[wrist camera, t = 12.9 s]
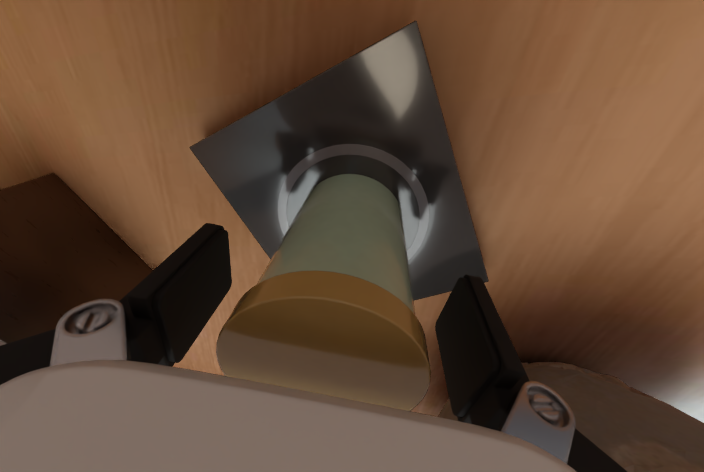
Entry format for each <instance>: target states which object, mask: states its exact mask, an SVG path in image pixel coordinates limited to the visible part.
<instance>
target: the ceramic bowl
mask: <svg viewBox="0 0 704 472" xmlns="http://www.w3.org/2000/svg"><path fill="white" fill-rule="evenodd" d="M522 365H523V367H524V370H525V372H526V374H527V376H528V378H529V380H530V381H538V382H540V383H543V384H545V385H547V386H549V387H550V388H552V389H553V390H555V391H556V392H557V393H558V394H559V395H561V396H562V398H563V399H564V400H565V401H566V402H567V403H568V405H569V406H570V408H571V410H572V411H573V414H574V417H575V420H576V427H575V428H576V429H577V430H578V431H579V432H580V433H582V434H583V435H584V436H585V437H586V438H588V439H589V440H590V441H591V442H592V443H594V444H595V445H596V446H597V447H598V448H600V449H601V450H602V451H603V452H605V453H606V454H607V455H608V456H609V457H611V458H612V459H613V460H614V461H615V462H617V463H618V464H619V465H620V466H621V467H623V468H624V469H625V470H626V471H627V472H704V423H702V422H701V421H699V420H697V419H695V418H693V417H691V416H689V415H687V414H686V413H684V412H682V411H680V410H678V409H676V408H674V407H672V406H671V405H669V404H667V403H665V402H663V401H660V400H658V399H656V398H654V397H652V396H649V395H647V394H645V393H642V392H640V391H638V390H636V389H634V388H632V387H628V386H627V385H626V384H625V383H624V382H622V381H621V380H619V379H618V378H616V377H613V376H609V375H605V374H599V373H596V372H593V371H590V370H587V369H584V368H581V367H576V366H575V365H573V364H564V363H562V362H534V363H531V364H528V363H527V362H526V363H522ZM438 417H440V418H445V419H450V420H454V421H458V419H457V416H455V415H454V414H453V413H452V409H451V404H450V399H448V400H447V402H446V404H445V405H444V407H443V409H442V410H441V412H440V414H439V416H438Z"/></svg>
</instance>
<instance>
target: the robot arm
mask: <svg viewBox="0 0 704 472" xmlns="http://www.w3.org/2000/svg"><path fill="white" fill-rule="evenodd" d="M231 283H232V279H231V266H230V253H229V240H228V232H227V231H226V230H224V228H223V226H220V225H215V224H210V223H206V224H205V225H203V226H202V227H201V228H200V229H199V230H198V231H197V232H196V233H195V234H193V235H192V236H191V237H190V238H189V239H188V240H187V241H186V242H185V243H183V244H182V245H181V246H180V247H179V248H178V249H177V250H176V251H175V252H173V253H172V254H171V255H170V256H169V257H168V258H167V259H166V260H165V261H163V262H162V263H161V264H160V265H159V266H158V267H157V268H156V269H155V270H153V271H152V272H151V273H150V274H149V275H148V276H147V277H146V278H144V279H143V280H142V281H141V282H140V283H139V284H138V285H137V286H136V287H134V288H133V289H132V290H131V291H130V292H129V293H128V294H127V295H126V296H124V297H123V298H122V299H121V300H120V301H117V300H113V299H97V300H92V301H89V302H86V303H83V304H81V305H78V306H76V307H74V308H73V309H71V310H70V311H68V312H67V313H65V314H64V315H63V316H62V318H61V319H60V320H59V321H58V324H57V326H56V329H53V330H50V331H47V332H43V333H40V334H37V335H34V336H30V337H27V338H24V339H21V340H17V341H14V342H11V343H8V344H5V345H1V346H0V472H627V471H626V470H625V469H624V468H623V467H621V466H620V465H619V464H618V463H617V462H615V461H614V460H613V459H612V458H611V457H609V456H608V455H607V454H606V453H605V452H603V451H602V450H601V449H600V448H598V447H597V446H596V445H595V444H594V443H592V442H591V441H590V440H589V439H588V438H586V437H585V436H584V435H583V434H582V433H580V432H579V431H578V430H577V429H576V428H575V427H576V420H575V417H574V414H573V411H572V410H571V408H570V406H569V405H568V403H567V402H566V401H565V400H564V399H563V398H562V396H561V395H559V394H558V393H557V392H556V391H555V390H553V389H552V388H550V387H549V386H547V385H545V384H543V383H540V382H538V381H530V380H529V378H528V376H527V374H526V372H525V370H524V367H523V365H522V363H521V361H520V359H519V357H518V355H517V353H516V350H515V348H514V346H513V344H512V342H511V340H510V338H509V335H508V333H507V331H506V329H505V327H504V325H503V323H502V321H501V318H500V316H499V314H498V312H497V310H496V308H495V306H494V303H493V301H492V299H491V297H490V295H489V293H488V291H487V289H486V286H485V284H484V282H483V280H482V279H481V278H480V277H476V276H471V275H464V276H463V278H462V277H460V278H459V279H458V280H457V282H456V284H455V286H454V288H453V290H452V292H451V294H450V296H449V298H448V300H447V302H446V304H445V306H444V308H443V310H442V312H441V314H440V316H439V318H438V320H437V322H436V326H435V329H436V335H437V340H438V345H439V350H440V355H441V360H442V365H443V370H444V374H445V379H446V384H447V389H448V394H449V399H450V404H451V409H452V413H453V414H454V415H455V416H457V419H458V421H454V420H450V419H445V418H440V417H436V416H431V415H426V414H421V413H416V412H411V411H406V410H401V409H395V408H390V407H385V406H380V405H375V404H370V403H365V402H360V401H355V400H349V399H344V398H339V397H334V396H328V395H323V394H318V393H313V392H307V391H302V390H297V389H292V388H286V387H281V386H276V385H270V384H265V383H260V382H254V381H249V380H243V379H238V378H233V377H227V376H222V375H216V374H211V373H206V372H200V371H194V370H188V369H182V368H176V367H172V366H173V365H174V363H175V362H176V363H178V362H180V361H181V360H182V359H183V357H184V356H185V354H186V353H187V351H188V350H189V348H190V347H191V345H192V344H193V342H194V341H195V340H196V338H197V337H198V335H199V334H200V332H201V331H202V329H203V328H204V326H205V325H206V323H207V322H208V320H209V319H210V317H211V316H212V315H213V313H214V312H215V310H216V309H217V307H218V306H219V304H220V303H221V301H222V300H223V298H224V297H225V295H226V294H227V292H228V291H229V289H230V287H231Z"/></svg>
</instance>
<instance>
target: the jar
mask: <svg viewBox="0 0 704 472" xmlns="http://www.w3.org/2000/svg"><path fill="white" fill-rule="evenodd" d="M216 353H217V359H218V362H219V365H220V368H221V370H222V372H223V373H224V375H225V376H227V377H233V378H238V379H243V380H249V381H254V382H260V383H265V384H270V385H276V386H281V387H286V388H292V389H297V390H302V391H307V392H313V393H318V394H323V395H328V396H334V397H339V398H344V399H349V400H355V401H360V402H365V403H370V404H375V405H380V406H385V407H390V408H395V409H401V410H406V411H411V410H412V409H413V408H414V407H415V406H417V405H418V404H419V403H420V401H421V400H422V399H423V398H424V396H425V394H426V392H427V390H428V387H429V384H430V378H431V370H430V364H429V358H428V351H427V345H426V339H425V334H424V331H423V328H422V326H421V324H420V322H419V321H418V319H417V317H416V316H415V308H414V300H413V293H412V285H411V278H410V270H409V263H408V255H407V248H406V240H405V233H404V225H403V218H402V212H401V208H400V205H399V203H398V201H397V199H396V198H395V196H394V195H393V194H392V193H391V191H390V190H389V189H388V188H386V187H385V186H384V185H383V184H381V183H380V182H378V181H376V180H374V179H372V178H370V177H366V176H363V175H358V174H341V175H337V176H333V177H330V178H328V179H326V180H324V181H322V182H320V183H319V184H318V185H316V186H315V187H314V188H313V189H312V190H311V192H310V193H309V194H308V196H307V198H306V199H305V201H304V203H303V205H302V206H301V208H300V210H299V212H298V213H297V215H296V217H295V218H294V220H293V222H292V224H291V225H290V227H289V229H288V231H287V232H286V234H285V236H284V238H283V239H282V241H281V243H280V245H279V246H278V248H277V250H276V252H275V253H274V255H273V257H272V258H271V260H270V262H269V264H268V265H267V267H266V269H265V271H264V272H263V274H262V276H261V278H260V279H259V281H258V283H257V285H256V286H254V287H252V288H251V289H250V290H249V291H248V292H246V293H245V294H244V295H243V297H242V298H241V299H240V300H239V301H238V303H237V305H236V306H235V308H234V310H233V311H232V313H231V315H230V316H229V318H228V320H227V321H226V323H225V324H224V326H223V328H222V330H221V332H220V334H219V336H218V340H217V349H216Z"/></svg>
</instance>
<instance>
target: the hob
mask: <svg viewBox="0 0 704 472" xmlns="http://www.w3.org/2000/svg"><path fill="white" fill-rule="evenodd" d="M190 149H191V151H192V152H193V153H194V155H195V156H196V158H197V159H198V160H199V162H200V163H201V164H202V166H203V167H204V168H205V170H206V171H207V173H208V174H209V175H210V177H211V178H212V179H213V181H214V182H215V184H216V185H217V186H218V188H219V189H220V190H221V192H222V193H223V195H224V196H225V197H226V199H227V200H228V201H229V203H230V204H231V206H232V207H233V208H234V210H235V211H236V212H237V214H238V215H239V216H240V218H241V219H242V221H243V222H244V223H245V225H246V226H247V227H248V229H249V230H250V232H251V233H252V234H253V236H254V237H255V238H256V240H257V241H258V243H259V244H260V245H261V247H262V248H263V249H264V251H265V252H266V254H267V255H268V256H269V258H270V259H271V258H272V257H273V255H274V253H275V252H276V250H277V248H278V246H279V245H280V243H281V241H282V239H283V238H284V236H285V234H286V232H287V231H288V229H289V227H290V225H291V224H292V222H293V220H294V218H295V217H296V215H297V213H298V212H299V210H300V208H301V206H302V205H303V203H304V201H305V199H306V198H307V196H308V194H309V193H310V192H311V190H312V189H313V188H314V187H315V186H316V185H318V184H319V183H320V182H322V181H324V180H326V179H328V178H330V177H333V176H337V175H341V174H358V175H363V176H366V177H370V178H372V179H374V180H376V181H378V182H380V183H381V184H383V185H384V186H385V187H386V188H388V189H389V190H390V191H391V193H392V194H393V195H394V196H395V198H396V199H397V201H398V203H399V205H400V208H401V212H402V218H403V225H404V233H405V240H406V248H407V255H408V263H409V270H410V278H411V285H412V293H413V300H418V299H422V298H426V297H430V296H434V295H438V294H442V293H446V292H449V291H452V290H453V288H454V286H455V284H456V282H457V280H458V279H459V278H460V277H462V278H463V276H464V275H471V276H476V277H480V278H481V279H482V280H483V282H484V283H485V282H488V281H489V280H488V277H487V273H486V269H485V266H484V262H483V259H482V255H481V251H480V248H479V244H478V241H477V237H476V233H475V230H474V226H473V222H472V219H471V215H470V212H469V208H468V204H467V201H466V197H465V194H464V190H463V186H462V183H461V179H460V176H459V172H458V168H457V165H456V161H455V158H454V154H453V150H452V147H451V143H450V140H449V136H448V132H447V129H446V125H445V121H444V118H443V114H442V111H441V107H440V103H439V100H438V96H437V93H436V89H435V85H434V82H433V78H432V75H431V71H430V67H429V64H428V60H427V57H426V53H425V49H424V46H423V42H422V39H421V35H420V31H419V28H418V24H417V21H414V22H412V23H410V24H408V25H407V26H405V27H403V28H401V29H400V30H398V31H396V32H394V33H392V34H391V35H389V36H387V37H385V38H383V39H382V40H380V41H378V42H376V43H375V44H373V45H371V46H369V47H367V48H366V49H364V50H362V51H360V52H358V53H357V54H355V55H353V56H351V57H350V58H348V59H346V60H344V61H342V62H341V63H339V64H337V65H335V66H333V67H332V68H330V69H328V70H326V71H325V72H323V73H321V74H319V75H317V76H316V77H314V78H312V79H310V80H308V81H307V82H305V83H303V84H301V85H299V86H298V87H296V88H294V89H292V90H291V91H289V92H287V93H285V94H283V95H282V96H280V97H278V98H276V99H274V100H273V101H271V102H269V103H267V104H266V105H264V106H262V107H260V108H258V109H257V110H255V111H253V112H251V113H249V114H248V115H246V116H244V117H242V118H241V119H239V120H237V121H235V122H233V123H232V124H230V125H228V126H226V127H224V128H223V129H221V130H219V131H217V132H216V133H214V134H212V135H210V136H208V137H207V138H205V139H203V140H201V141H199V142H198V143H196V144H194V145H192V146H190Z"/></svg>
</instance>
